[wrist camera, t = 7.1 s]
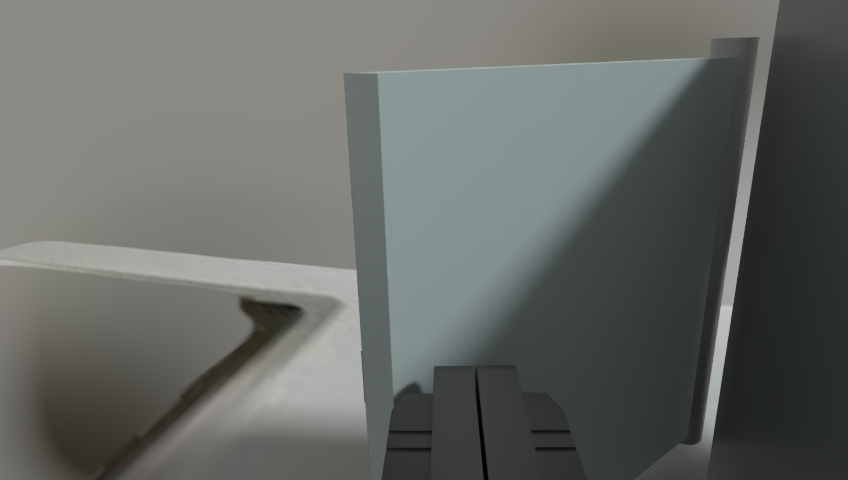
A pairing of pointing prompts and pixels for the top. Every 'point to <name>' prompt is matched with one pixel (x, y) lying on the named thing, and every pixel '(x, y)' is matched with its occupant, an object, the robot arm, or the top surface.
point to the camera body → (793, 267)
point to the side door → (551, 237)
